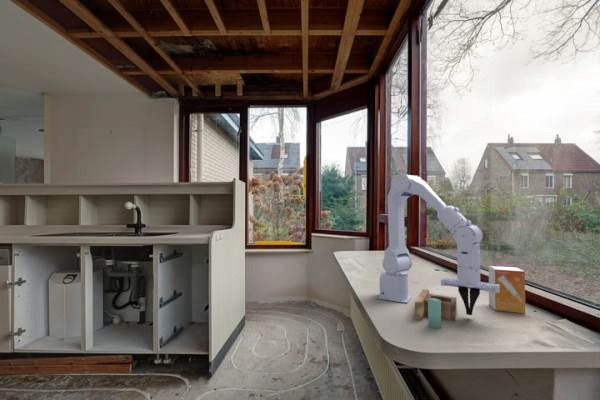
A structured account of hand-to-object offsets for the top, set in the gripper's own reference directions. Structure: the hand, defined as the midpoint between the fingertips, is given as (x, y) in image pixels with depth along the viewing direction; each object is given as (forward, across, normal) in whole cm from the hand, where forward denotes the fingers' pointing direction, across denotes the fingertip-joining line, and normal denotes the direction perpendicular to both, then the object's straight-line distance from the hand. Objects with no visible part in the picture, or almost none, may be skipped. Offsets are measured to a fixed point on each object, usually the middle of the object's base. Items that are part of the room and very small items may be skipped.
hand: (469, 313), depth 82 cm
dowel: (+2, -8, -11) cm, 14 cm away
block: (+1, -7, 0) cm, 8 cm away
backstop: (+1, -12, -1) cm, 13 cm away
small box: (+2, +10, +16) cm, 19 cm away
